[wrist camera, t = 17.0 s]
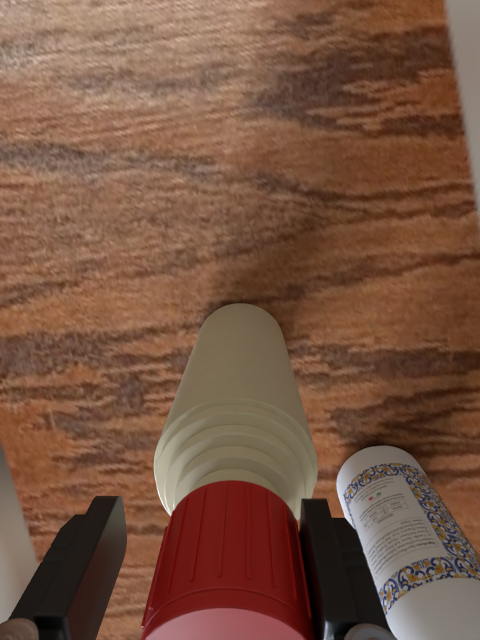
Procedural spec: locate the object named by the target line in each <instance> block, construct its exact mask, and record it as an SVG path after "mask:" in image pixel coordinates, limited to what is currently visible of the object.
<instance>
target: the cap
mask: <svg viewBox="0 0 480 640" xmlns="http://www.w3.org/2000/svg"><path fill="white" fill-rule="evenodd" d="M141 628H143V632H142V636H141V640H315V631H314V624H313V618H312V612H311V605H310V599H309V593H308V586H307V580H306V574H305V567H304V561H303V555H302V548H301V542H300V536H299V531H298V524H297V520H296V518H295V517H294V515H293V512H292V511H291V509H290V508H289V506H288V505H287V504H286V503H285V502H284V501H283V499H281V498H280V497H279V496H278V495H277V494H275V493H274V492H272V491H271V490H269V489H267V488H265V487H263V486H260V485H257V484H255V483H250V482H246V481H238V480H226V481H218V482H213V483H209V484H206V485H203V486H201V487H199V488H197V489H195V490H193V491H192V492H190V493H189V494H188V495H186V496H185V497H184V498H183V499H182V500H181V501H180V502H179V503H178V505H177V506H176V508H175V509H174V510H173V512H172V515H171V517H170V521H169V525H168V527H167V526H166V528H165V532H164V536H163V540H162V544H161V548H160V552H159V556H158V560H157V564H156V568H155V572H154V576H153V580H152V584H151V588H150V592H149V596H148V600H147V604H146V608H145V612H144V616H143V620H142V624H141Z"/></svg>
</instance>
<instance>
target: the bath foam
mask: <svg viewBox="0 0 480 640" xmlns="http://www.w3.org/2000/svg"><path fill="white" fill-rule="evenodd" d="M337 492H338V496H339V499H340V502H341V506H342V509H343V512H344V515H345V518H346V519H347V521H348V522H349V523H350V524H351V525H352V527H353V528H354V529H355V530H356V531H357V533H358V536H359V539H360V542H361V545H362V548H363V553H364V554H365V557H366V560H367V563H368V567H369V569H370V572H371V575H372V578H373V581H374V584H375V587H376V590H377V593H378V596H379V599H380V602H381V605H382V608H383V611H384V613H385V616H386V619H387V622H388V625H389V627H390V629H391V631H392V633H393V635H394V636H395V637H396V638H397V639H398V640H480V555H479V553H478V552H477V550H476V549H475V547H474V546H473V544H472V543H471V541H470V540H469V538H468V537H467V535H466V534H465V532H464V531H463V529H462V528H461V526H460V525H459V523H458V522H457V520H456V519H455V517H454V516H453V514H452V513H451V511H450V510H449V508H448V507H447V505H446V504H445V502H444V501H443V499H442V498H441V496H440V495H439V493H438V492H437V490H436V489H435V487H434V486H433V484H432V483H431V481H430V480H429V478H428V477H427V475H426V474H425V472H424V471H423V469H422V468H421V466H420V465H419V464H418V462H417V461H416V460H415V459H414V458H413V457H412V456H411V455H410V454H409V453H407V452H405V451H404V450H402V449H399V448H396V447H392V446H373V447H368V448H365V449H362V450H360V451H358V452H356V453H355V454H353V455H352V456H351V457H350V458H348V459H347V460H346V462H345V463H344V464H343V466H342V467H341V469H340V471H339V474H338V477H337Z"/></svg>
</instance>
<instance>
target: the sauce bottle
mask: <svg viewBox="0 0 480 640" xmlns="http://www.w3.org/2000/svg"><path fill="white" fill-rule="evenodd" d="M317 473H318V463H317V456H316V452H315V448H314V445H313V441H312V438H311V434H310V430H309V427H308V423H307V420H306V416H305V412H304V409H303V405H302V402H301V398H300V394H299V391H298V387H297V384H296V380H295V377H294V373H293V369H292V366H291V362H290V359H289V355H288V351H287V348H286V344H285V341H284V337H283V334H282V330H281V328H280V326H279V324H278V323H277V321H276V320H275V319H274V317H273V316H271V315H270V314H269V313H268V312H267V311H265V310H264V309H262V308H260V307H257V306H255V305H251V304H245V303H236V304H230V305H226V306H224V307H221V308H219V309H217V310H216V311H214V312H213V313H212V314H211V315H210V316H209V317H208V318H207V319H206V320H205V321H204V323H203V325H202V326H201V329H200V331H199V334H198V337H197V339H196V342H195V345H194V348H193V350H192V353H191V356H190V358H189V361H188V364H187V367H186V369H185V372H184V375H183V377H182V380H181V383H180V386H179V388H178V391H177V394H176V396H175V399H174V402H173V405H172V407H171V410H170V413H169V415H168V418H167V421H166V424H165V426H164V429H163V432H162V434H161V437H160V440H159V442H158V445H157V448H156V452H155V457H154V475H155V479H156V485H157V490H158V494H159V497H160V499H161V502H162V504H163V506H164V507H165V509H166V511H167V512H168V513H169V515H170V516H171V515H172V512H173V510H174V509H175V508H176V506H177V505H178V503H179V502H180V501H181V500H182V499H183V498H184V497H185V496H186V495H188V494H189V493H190V492H192V491H193V490H195V489H197V488H199V487H201V486H203V485H206V484H209V483H213V482H218V481H226V480H238V481H246V482H250V483H255V484H257V485H260V486H263V487H265V488H267V489H269V490H271V491H272V492H274V493H275V494H277V495H278V496H279V497H280V498H281V499H283V501H284V502H285V503H286V504H287V505H288V506H289V508H290V509H291V511H292V512H293V515H294V517H295V518H296V520H297V521H298V520H299V518H300V509H301V499H302V498H312V495H313V490H314V487H315V484H316V480H317Z"/></svg>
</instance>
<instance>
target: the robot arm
mask: <svg viewBox="0 0 480 640" xmlns="http://www.w3.org/2000/svg"><path fill="white" fill-rule="evenodd" d="M299 536H300V542H301V548H302V555H303V561H304V567H305V574H306V580H307V586H308V593H309V599H310V605H311V612H312V618H313V624H314V631H315V640H398V639H397V638H396V637H395V636H394V635H393V633H392V631H391V629H390V627H389V625H388V622H387V619H386V616H385V613H384V611H383V608H382V605H381V602H380V599H379V596H378V593H377V590H376V587H375V584H374V581H373V578H372V575H371V572H370V569H369V567H368V563H367V560H366V557H365V554H364V553H363V548H362V545H361V542H360V539H359V536H358V533H357V531H356V530H355V529H354V528H353V527H352V525H351V524H350V523H349V522H348V521H347V519H346V518H332V517H331V513H330V510H329V506H328V502H327V500H326V499H313V498H302V499H301V509H300V529H299ZM126 544H127V532H126V523H125V515H124V506H123V499H122V497H121V496H96V497H95V498H94V499H93V501H92V503H91V505H90V507H89V508H88V510H87V512H86V514H85V515H75V516H73V517H72V518H71V519H70V520H69V521H68V522H67V523H66V524H65V525H64V526H63V527H62V528H61V529H60V530H59V532H58V534H57V536H56V537H55V539H54V541H53V543H52V544H51V548H49V550H48V551H47V553H46V555H45V557H44V558H43V562H41V563H40V565H39V567H38V569H37V571H36V572H35V574H34V576H33V577H32V579H31V581H30V583H29V584H28V586H27V588H26V590H25V591H24V593H23V595H22V597H21V598H20V600H19V602H18V604H17V605H16V607H15V609H14V610H13V612H12V614H11V616H10V617H9V619H8V620H7V621H6V622H3V623H1V624H0V640H96V637H97V634H98V631H99V628H100V625H101V623H102V620H103V617H104V614H105V611H106V608H107V605H108V602H109V600H110V597H111V594H112V591H113V588H114V585H115V582H116V579H117V577H118V574H119V571H120V568H121V565H122V562H123V559H124V556H125V551H126Z"/></svg>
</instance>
